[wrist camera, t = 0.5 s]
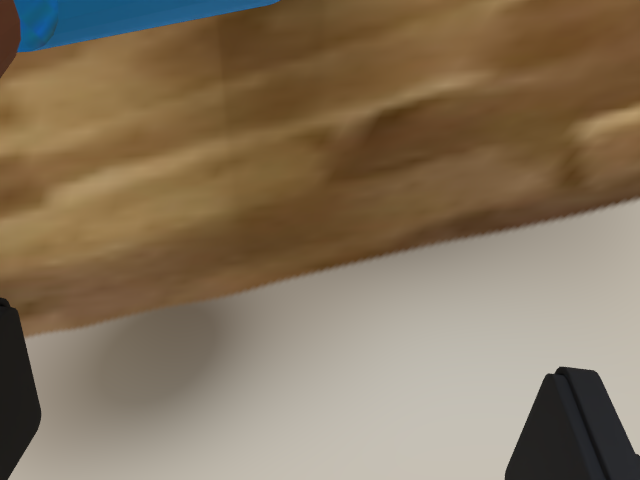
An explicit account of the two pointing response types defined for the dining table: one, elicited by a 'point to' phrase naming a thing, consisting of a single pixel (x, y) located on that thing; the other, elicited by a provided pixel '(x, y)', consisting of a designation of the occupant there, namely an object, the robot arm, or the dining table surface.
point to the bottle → (95, 20)
